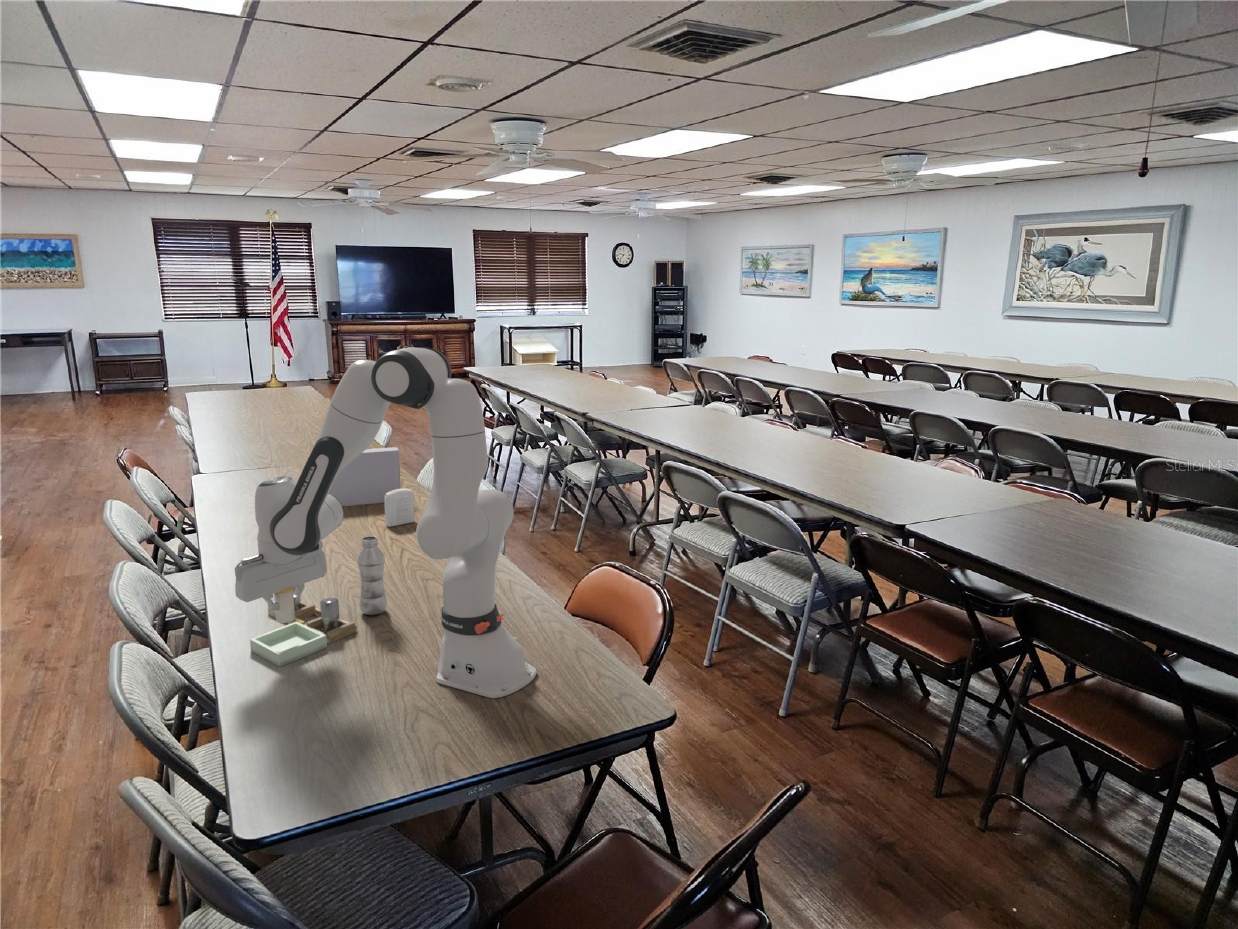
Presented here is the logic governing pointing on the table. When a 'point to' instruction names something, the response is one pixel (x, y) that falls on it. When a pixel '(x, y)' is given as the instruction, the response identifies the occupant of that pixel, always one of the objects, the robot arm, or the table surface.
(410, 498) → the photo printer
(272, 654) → the tray
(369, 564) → the plastic bottle
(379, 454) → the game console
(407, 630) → the table surface
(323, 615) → the canister
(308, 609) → the rack
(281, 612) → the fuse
